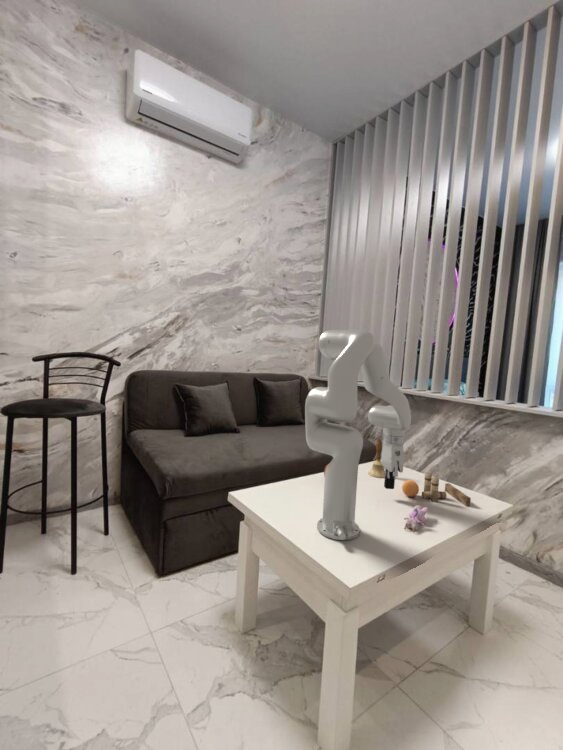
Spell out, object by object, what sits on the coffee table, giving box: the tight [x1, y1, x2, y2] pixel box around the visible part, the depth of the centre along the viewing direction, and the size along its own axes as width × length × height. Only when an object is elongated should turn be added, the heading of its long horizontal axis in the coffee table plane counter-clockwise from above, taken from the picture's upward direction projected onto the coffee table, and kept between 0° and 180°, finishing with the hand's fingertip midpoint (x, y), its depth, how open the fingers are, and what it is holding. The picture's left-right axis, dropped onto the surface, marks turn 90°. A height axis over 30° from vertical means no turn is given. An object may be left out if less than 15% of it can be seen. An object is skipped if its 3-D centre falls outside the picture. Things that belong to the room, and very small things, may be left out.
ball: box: [401, 479, 420, 498], centre depth 134 cm, size 6×6×6 cm
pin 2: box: [429, 476, 440, 503], centre depth 131 cm, size 2×2×8 cm
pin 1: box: [423, 471, 433, 492], centre depth 136 cm, size 2×2×8 cm
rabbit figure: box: [403, 505, 429, 533], centre depth 113 cm, size 6×6×15 cm
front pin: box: [421, 490, 448, 499], centre depth 133 cm, size 2×2×8 cm
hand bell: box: [367, 438, 386, 479], centre depth 156 cm, size 8×8×16 cm
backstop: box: [444, 483, 472, 507], centre depth 134 cm, size 14×2×3 cm, turn 5°
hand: (389, 487), depth 131 cm, fingers closed
